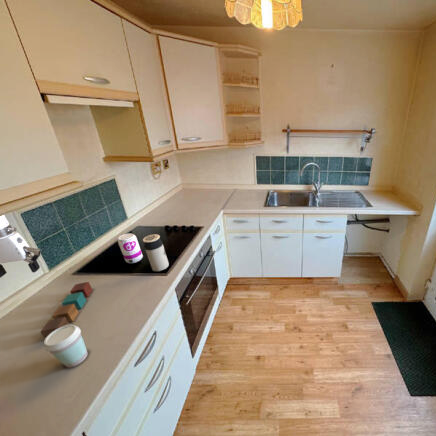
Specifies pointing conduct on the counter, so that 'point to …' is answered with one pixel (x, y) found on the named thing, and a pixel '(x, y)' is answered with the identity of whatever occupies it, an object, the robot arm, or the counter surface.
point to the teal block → (75, 300)
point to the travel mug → (155, 252)
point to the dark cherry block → (82, 289)
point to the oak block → (66, 312)
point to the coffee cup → (66, 345)
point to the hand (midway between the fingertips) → (19, 272)
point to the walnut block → (53, 325)
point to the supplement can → (130, 248)
